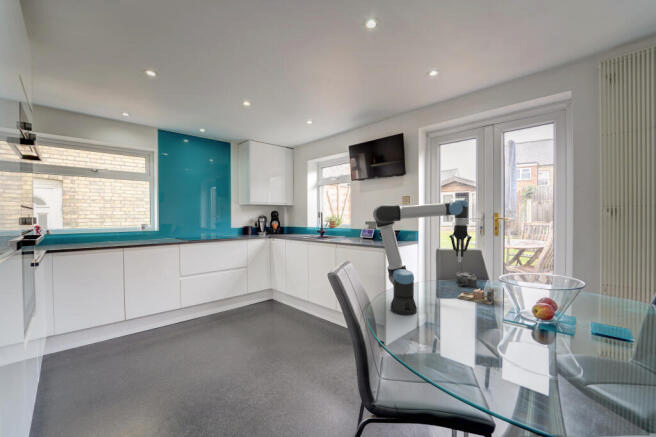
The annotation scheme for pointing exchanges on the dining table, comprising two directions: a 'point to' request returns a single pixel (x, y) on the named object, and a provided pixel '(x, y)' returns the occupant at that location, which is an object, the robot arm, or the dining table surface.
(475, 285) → the camera
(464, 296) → the scale board
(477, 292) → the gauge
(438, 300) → the dining table surface
